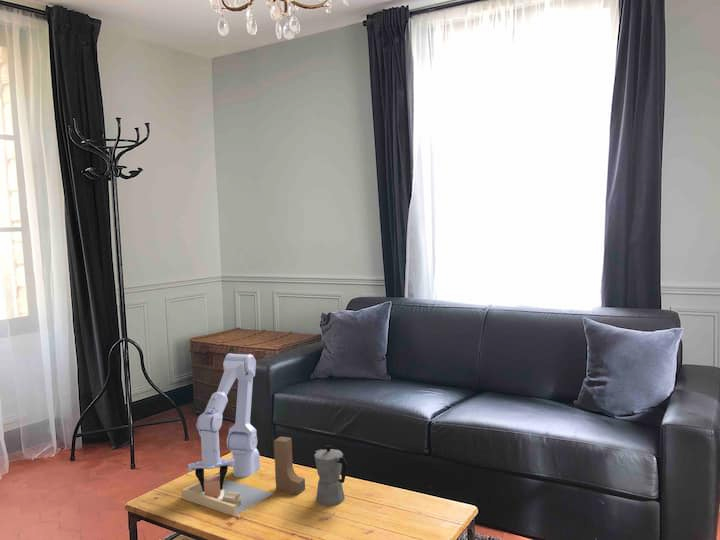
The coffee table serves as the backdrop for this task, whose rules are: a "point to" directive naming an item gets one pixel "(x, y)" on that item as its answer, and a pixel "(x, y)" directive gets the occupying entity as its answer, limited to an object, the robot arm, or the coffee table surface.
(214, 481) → the terracotta cube
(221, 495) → the pad
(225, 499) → the ash block
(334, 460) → the coffeepot
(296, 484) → the wooden block
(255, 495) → the arena board
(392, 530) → the coffee table surface
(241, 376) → the robot arm
